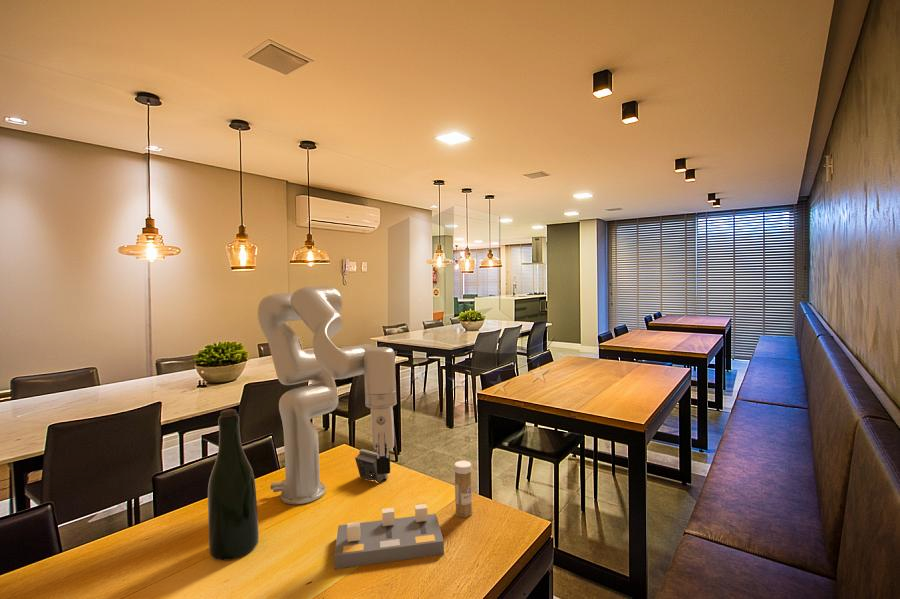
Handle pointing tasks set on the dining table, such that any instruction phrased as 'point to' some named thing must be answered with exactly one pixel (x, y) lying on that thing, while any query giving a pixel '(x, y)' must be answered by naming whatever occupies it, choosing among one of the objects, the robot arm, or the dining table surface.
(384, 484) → the dining table surface
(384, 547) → the switch panel
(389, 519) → the slider middle
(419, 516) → the slider right
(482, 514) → the dining table surface
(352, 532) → the slider left
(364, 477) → the electrical switch
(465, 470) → the sprinkles bottle
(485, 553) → the dining table surface
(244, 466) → the beer bottle
